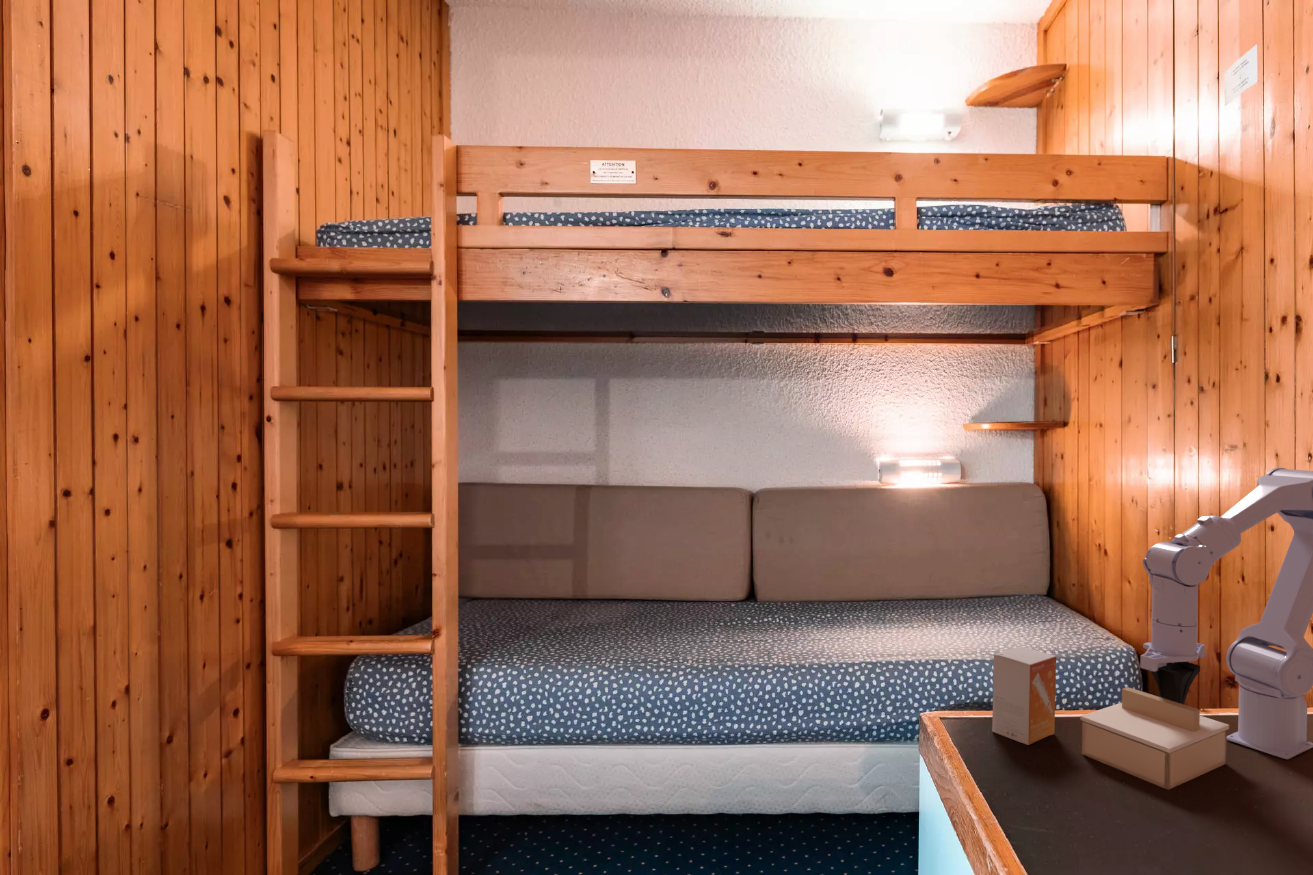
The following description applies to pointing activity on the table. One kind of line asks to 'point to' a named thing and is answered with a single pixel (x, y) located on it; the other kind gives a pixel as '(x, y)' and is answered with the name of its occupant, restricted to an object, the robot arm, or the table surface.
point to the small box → (1024, 694)
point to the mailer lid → (1155, 721)
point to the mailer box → (1154, 756)
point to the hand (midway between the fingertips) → (1172, 708)
